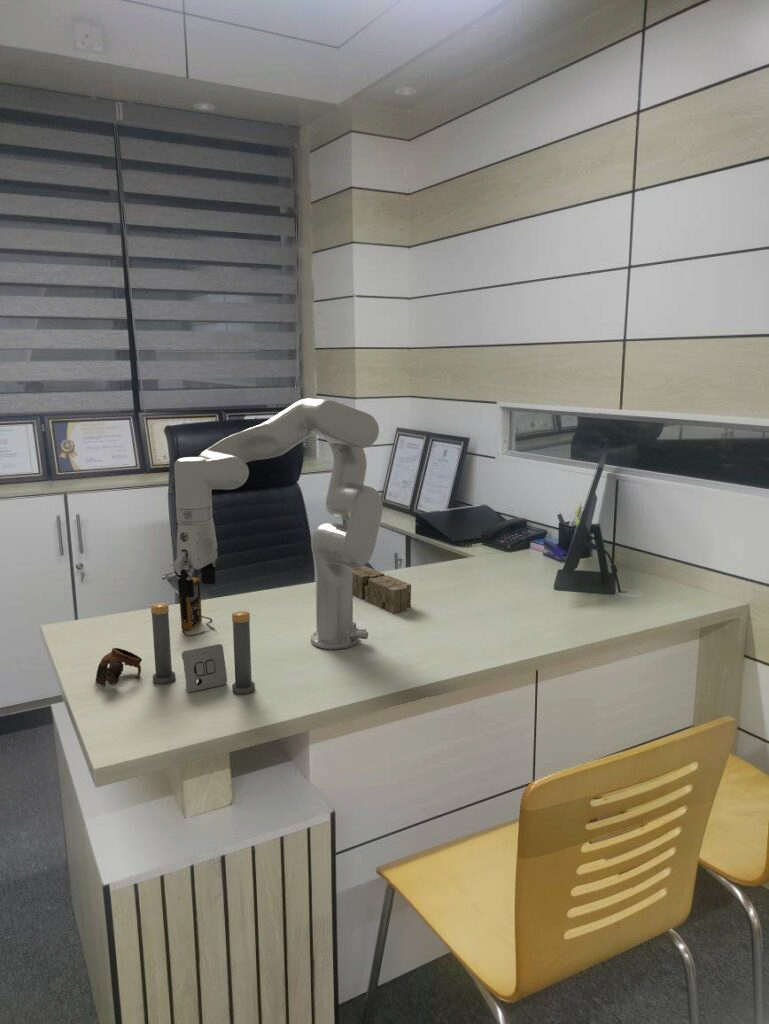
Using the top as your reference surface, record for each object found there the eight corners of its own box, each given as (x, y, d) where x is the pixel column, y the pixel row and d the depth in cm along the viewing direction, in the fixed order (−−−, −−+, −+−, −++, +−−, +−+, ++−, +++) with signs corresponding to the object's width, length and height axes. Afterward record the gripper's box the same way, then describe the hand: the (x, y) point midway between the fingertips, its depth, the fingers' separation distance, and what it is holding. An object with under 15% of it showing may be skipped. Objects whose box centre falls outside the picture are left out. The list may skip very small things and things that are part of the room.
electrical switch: (187, 694, 164) (184, 653, 163) (181, 687, 169) (177, 648, 168) (228, 685, 169) (225, 645, 168) (220, 678, 173) (218, 640, 172)
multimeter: (209, 638, 196) (206, 565, 192) (174, 635, 198) (170, 563, 194) (231, 619, 210) (228, 551, 206) (198, 616, 212) (195, 549, 208)
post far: (179, 676, 173) (175, 603, 169) (168, 685, 168) (163, 610, 165) (160, 674, 174) (155, 601, 171) (148, 683, 170) (143, 608, 166)
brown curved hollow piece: (95, 675, 175) (110, 643, 176) (133, 690, 176) (148, 658, 178) (86, 684, 163) (103, 649, 164) (127, 700, 165) (144, 665, 166)
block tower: (413, 612, 220) (358, 585, 242) (414, 585, 218) (358, 560, 240) (392, 618, 215) (338, 589, 238) (393, 590, 213) (338, 564, 236)
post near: (258, 686, 168) (256, 611, 164) (249, 696, 163) (246, 618, 160) (238, 683, 169) (235, 609, 166) (228, 693, 165) (225, 616, 161)
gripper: (190, 524, 151) (193, 603, 155) (228, 507, 168) (231, 580, 171) (157, 521, 153) (161, 600, 157) (198, 505, 170) (201, 577, 173)
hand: (198, 589), depth 164 cm, fingers open, 9 cm apart
